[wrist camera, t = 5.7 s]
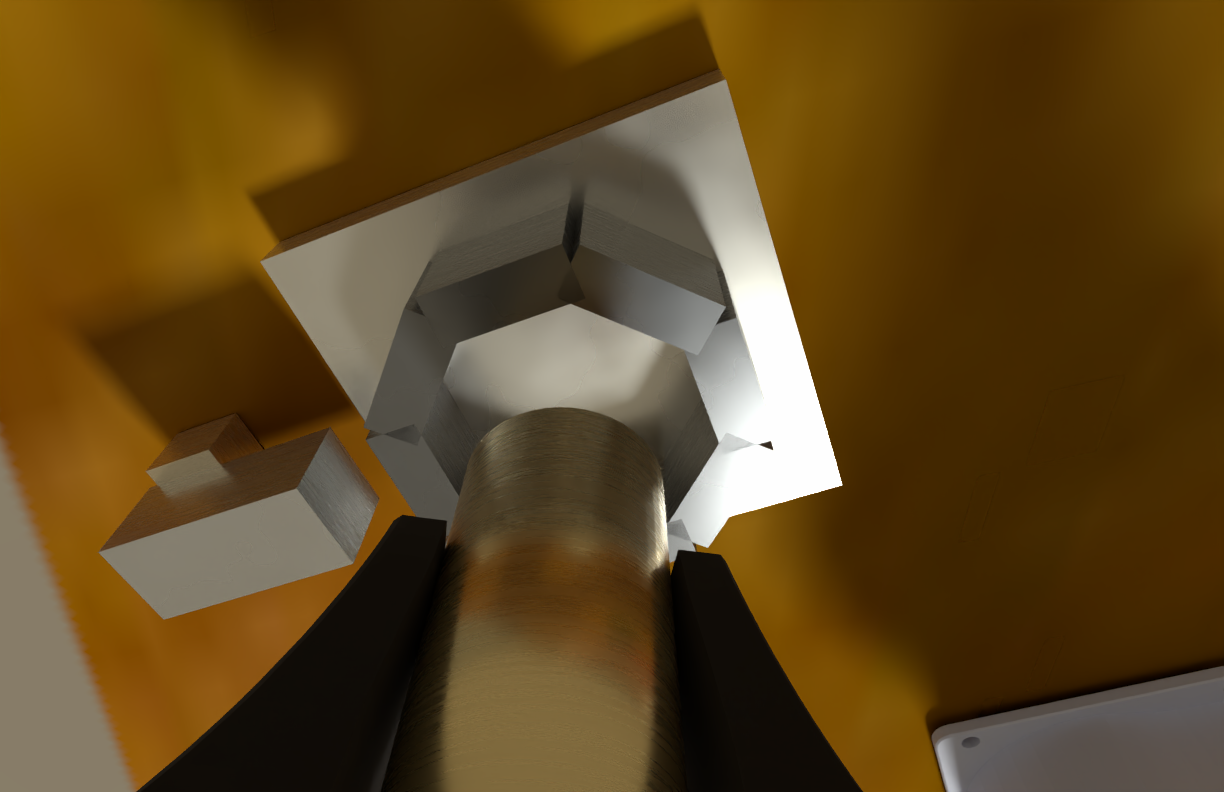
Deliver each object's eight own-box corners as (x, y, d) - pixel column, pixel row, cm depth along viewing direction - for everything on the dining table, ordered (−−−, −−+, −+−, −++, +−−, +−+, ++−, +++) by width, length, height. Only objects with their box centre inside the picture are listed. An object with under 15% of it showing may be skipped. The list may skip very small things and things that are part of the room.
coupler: (632, 385, 12) (651, 999, 5) (684, 540, 13) (749, 1158, 7) (433, 434, 12) (218, 1052, 6) (506, 579, 14) (406, 1188, 7)
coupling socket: (719, 68, 14) (745, 111, 11) (883, 635, 21) (924, 750, 18) (76, 322, 16) (-39, 411, 14) (424, 745, 24) (397, 859, 21)
